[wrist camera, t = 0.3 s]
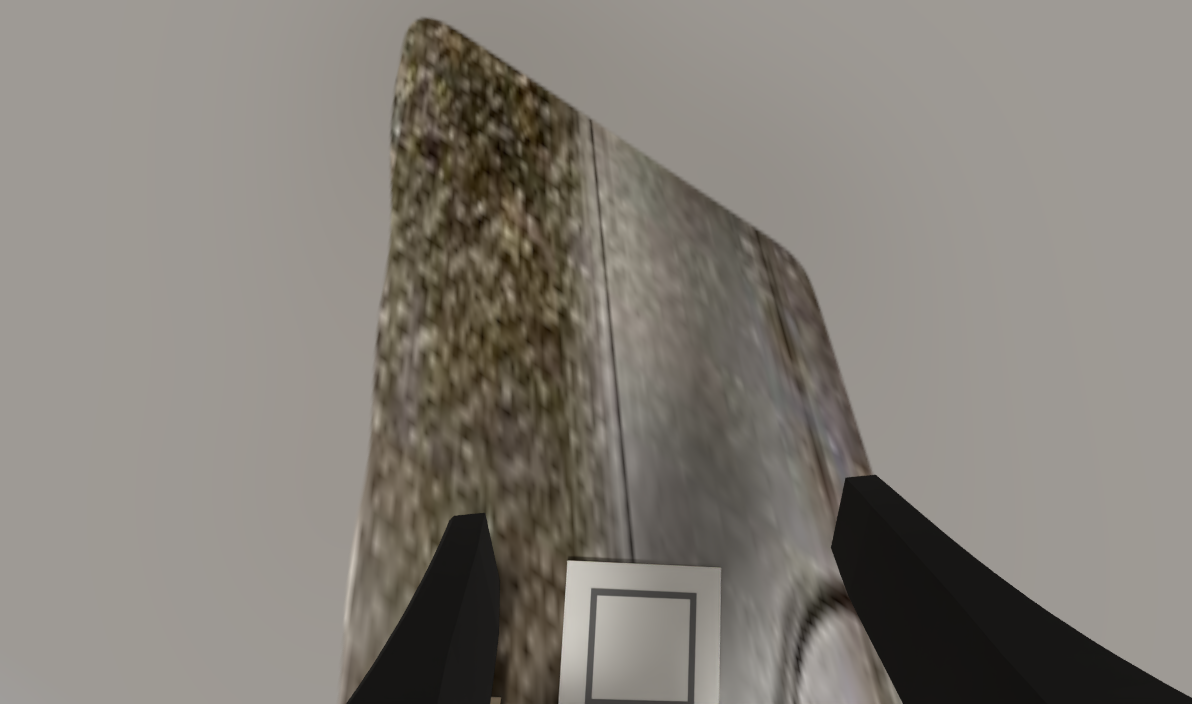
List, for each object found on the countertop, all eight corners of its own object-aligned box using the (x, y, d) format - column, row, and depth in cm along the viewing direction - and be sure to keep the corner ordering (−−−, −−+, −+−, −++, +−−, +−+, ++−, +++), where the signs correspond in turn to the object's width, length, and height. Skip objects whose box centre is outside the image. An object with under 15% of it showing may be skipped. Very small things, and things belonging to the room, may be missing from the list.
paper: (717, 736, 39) (718, 738, 39) (556, 732, 38) (556, 734, 38) (720, 567, 41) (721, 568, 41) (567, 560, 40) (567, 560, 40)
